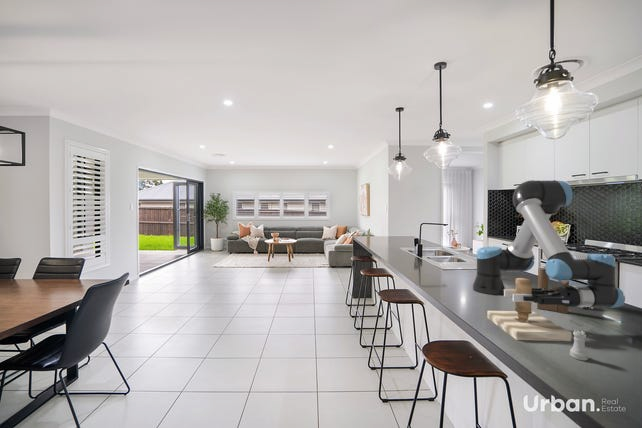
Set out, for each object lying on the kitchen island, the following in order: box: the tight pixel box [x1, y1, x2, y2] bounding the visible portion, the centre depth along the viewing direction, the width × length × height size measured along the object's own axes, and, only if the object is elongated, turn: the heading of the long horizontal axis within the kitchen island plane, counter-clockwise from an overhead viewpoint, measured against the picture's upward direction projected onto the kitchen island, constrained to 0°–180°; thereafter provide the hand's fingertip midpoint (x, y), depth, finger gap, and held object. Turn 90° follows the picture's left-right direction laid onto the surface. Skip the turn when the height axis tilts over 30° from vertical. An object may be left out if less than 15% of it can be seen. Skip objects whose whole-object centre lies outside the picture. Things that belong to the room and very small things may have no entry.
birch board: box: [486, 310, 573, 342], centre depth 112 cm, size 20×18×3 cm
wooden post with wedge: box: [536, 267, 570, 314], centre depth 132 cm, size 4×11×18 cm, turn 55°
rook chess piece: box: [569, 329, 590, 362], centre depth 91 cm, size 4×4×8 cm
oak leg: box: [514, 277, 533, 321], centre depth 112 cm, size 5×5×15 cm
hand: (508, 295), depth 112 cm, fingers closed on oak leg, 5 cm apart
